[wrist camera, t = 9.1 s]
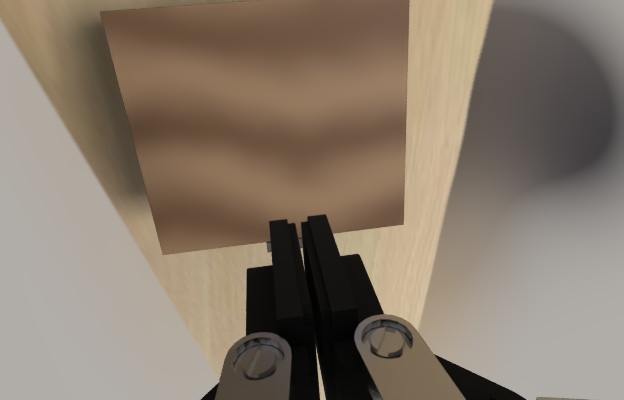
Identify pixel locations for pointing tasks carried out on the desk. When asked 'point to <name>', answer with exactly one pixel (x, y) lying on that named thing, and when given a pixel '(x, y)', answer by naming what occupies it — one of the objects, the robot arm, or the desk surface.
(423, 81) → the desk surface
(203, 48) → the lid
